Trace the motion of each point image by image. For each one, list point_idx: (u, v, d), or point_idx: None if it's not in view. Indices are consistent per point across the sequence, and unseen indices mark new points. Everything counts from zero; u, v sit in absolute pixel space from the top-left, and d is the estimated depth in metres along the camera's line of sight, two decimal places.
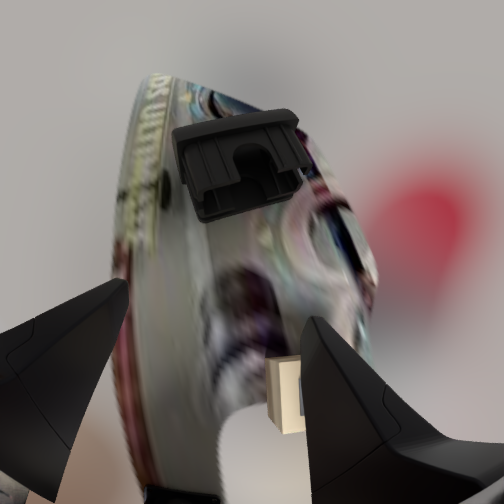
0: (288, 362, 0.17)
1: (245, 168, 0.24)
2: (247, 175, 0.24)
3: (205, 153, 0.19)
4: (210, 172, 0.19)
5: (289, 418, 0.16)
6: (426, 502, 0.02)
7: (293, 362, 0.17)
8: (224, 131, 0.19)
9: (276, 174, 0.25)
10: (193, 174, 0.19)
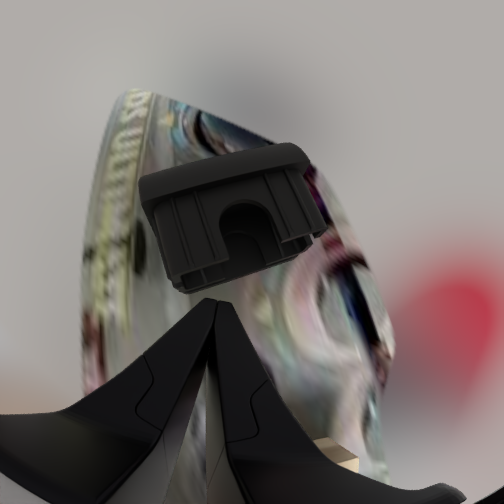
0: None
1: (237, 222, 0.19)
2: (241, 232, 0.20)
3: (181, 218, 0.14)
4: (187, 249, 0.14)
5: None
6: None
7: None
8: (207, 183, 0.14)
9: None
10: (164, 249, 0.14)
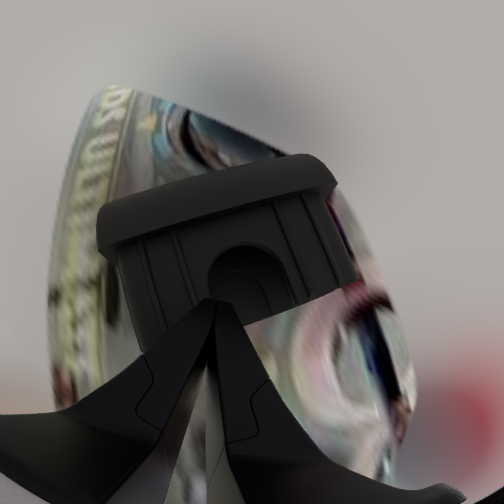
0: None
1: (236, 259, 0.15)
2: (240, 271, 0.15)
3: (153, 272, 0.10)
4: (162, 320, 0.09)
5: None
6: None
7: None
8: (189, 220, 0.10)
9: None
10: (132, 315, 0.09)
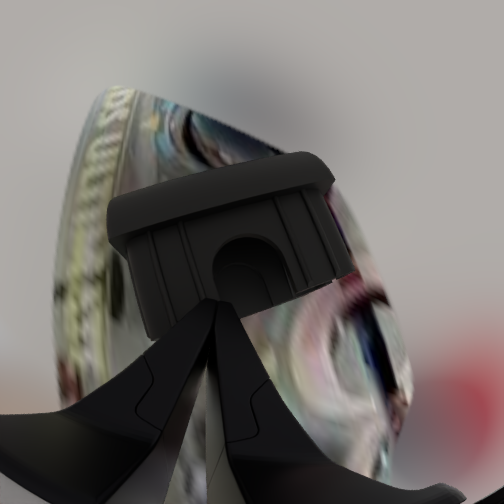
0: None
1: (238, 251, 0.16)
2: (242, 264, 0.16)
3: (160, 261, 0.10)
4: (169, 306, 0.10)
5: None
6: None
7: None
8: (195, 212, 0.11)
9: None
10: (140, 302, 0.10)
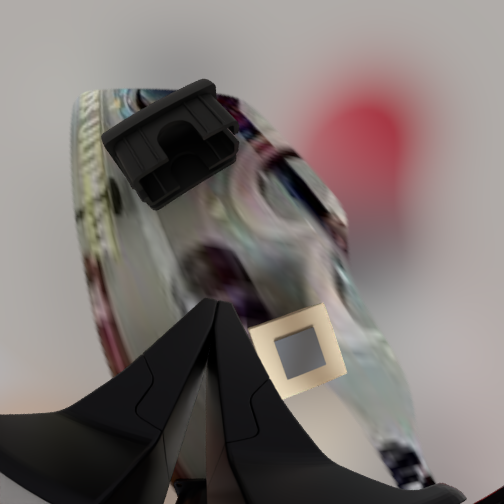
0: (259, 327, 0.17)
1: (181, 147, 0.24)
2: (185, 153, 0.24)
3: (132, 145, 0.18)
4: (139, 161, 0.18)
5: (276, 384, 0.16)
6: None
7: (264, 326, 0.17)
8: (144, 119, 0.19)
9: (213, 142, 0.24)
10: (125, 168, 0.18)
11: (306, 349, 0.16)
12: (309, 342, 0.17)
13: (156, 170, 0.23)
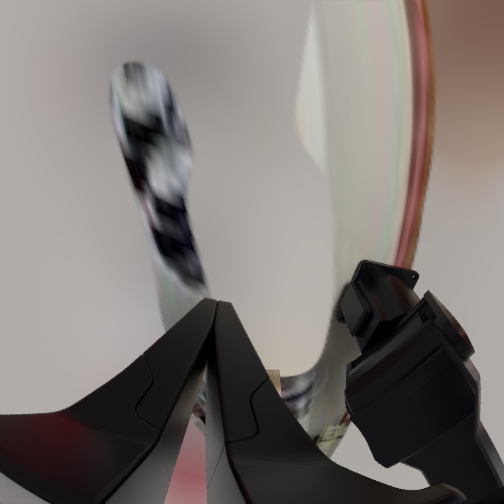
0: None
1: None
2: None
3: None
4: None
5: None
6: None
7: None
8: None
9: None
10: None
11: None
12: None
13: None
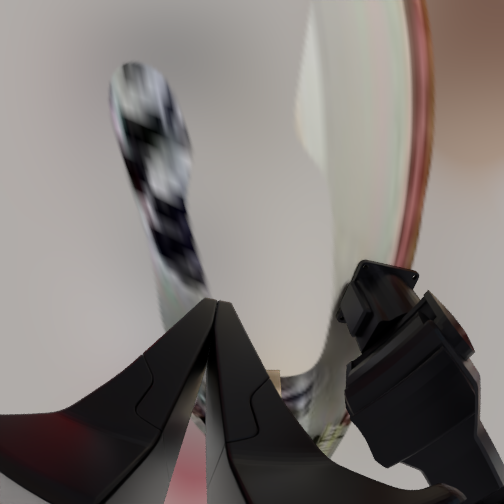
0: None
1: None
2: None
3: None
4: None
5: None
6: None
7: None
8: None
9: None
10: None
11: None
12: None
13: None
